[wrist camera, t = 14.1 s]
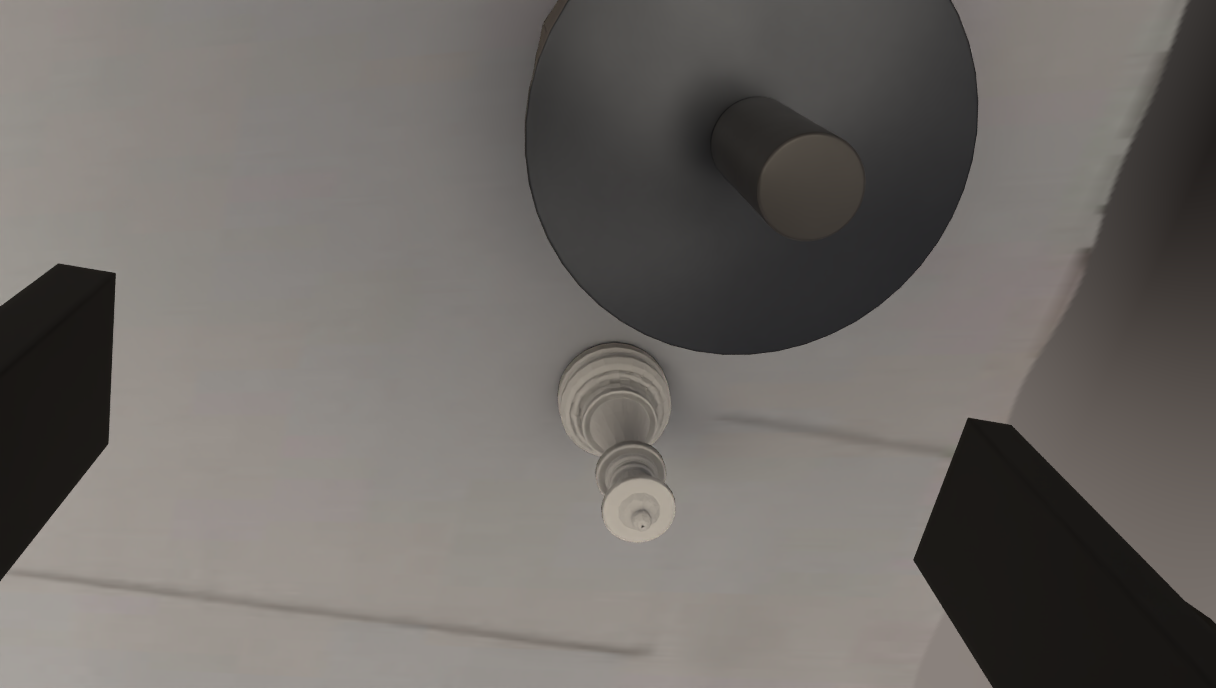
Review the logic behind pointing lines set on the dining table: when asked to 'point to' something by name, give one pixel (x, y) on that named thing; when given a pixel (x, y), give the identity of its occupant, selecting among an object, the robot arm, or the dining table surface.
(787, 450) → the dining table surface
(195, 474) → the dining table surface
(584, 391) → the chess piece
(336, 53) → the dining table surface
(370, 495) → the dining table surface
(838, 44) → the pot lid
